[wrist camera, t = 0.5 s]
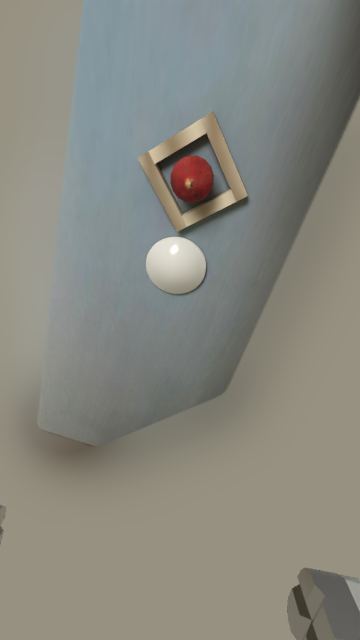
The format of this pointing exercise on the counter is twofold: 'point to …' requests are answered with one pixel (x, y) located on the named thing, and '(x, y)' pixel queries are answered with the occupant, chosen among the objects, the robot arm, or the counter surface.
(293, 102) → the counter surface
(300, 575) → the robot arm
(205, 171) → the onion
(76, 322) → the counter surface
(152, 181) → the frame
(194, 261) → the white domed disc
